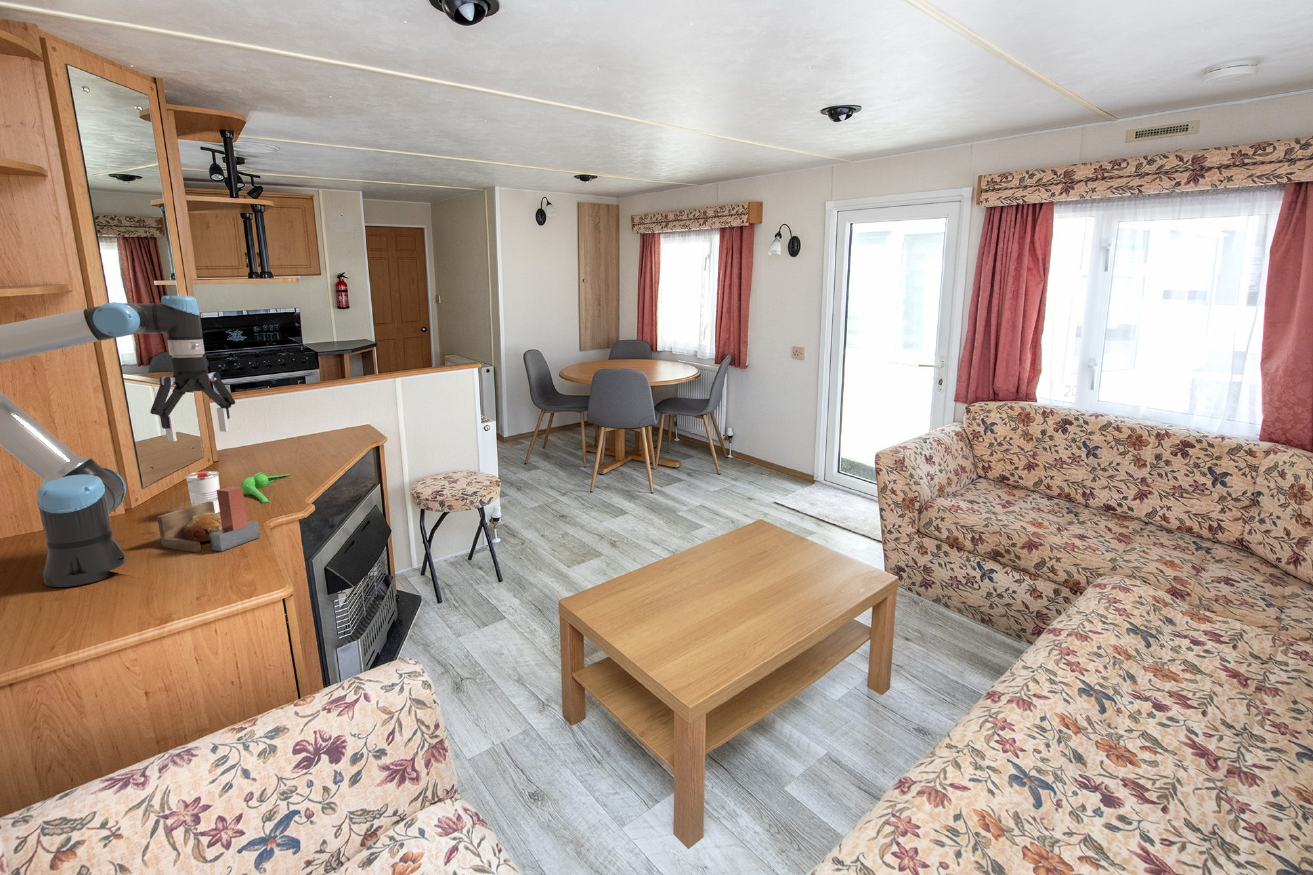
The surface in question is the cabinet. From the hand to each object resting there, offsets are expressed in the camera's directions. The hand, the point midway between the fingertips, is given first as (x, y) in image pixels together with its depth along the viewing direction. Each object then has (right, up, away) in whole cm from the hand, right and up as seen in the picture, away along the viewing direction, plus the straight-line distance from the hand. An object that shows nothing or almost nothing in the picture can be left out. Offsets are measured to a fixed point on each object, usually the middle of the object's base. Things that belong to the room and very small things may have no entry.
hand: (199, 436), depth 171 cm
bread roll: (+2, -29, +1) cm, 29 cm away
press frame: (+2, -28, +1) cm, 28 cm away
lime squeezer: (-11, -19, +47) cm, 52 cm away
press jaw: (+12, -29, -2) cm, 31 cm away
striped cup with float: (-15, -24, +24) cm, 37 cm away
